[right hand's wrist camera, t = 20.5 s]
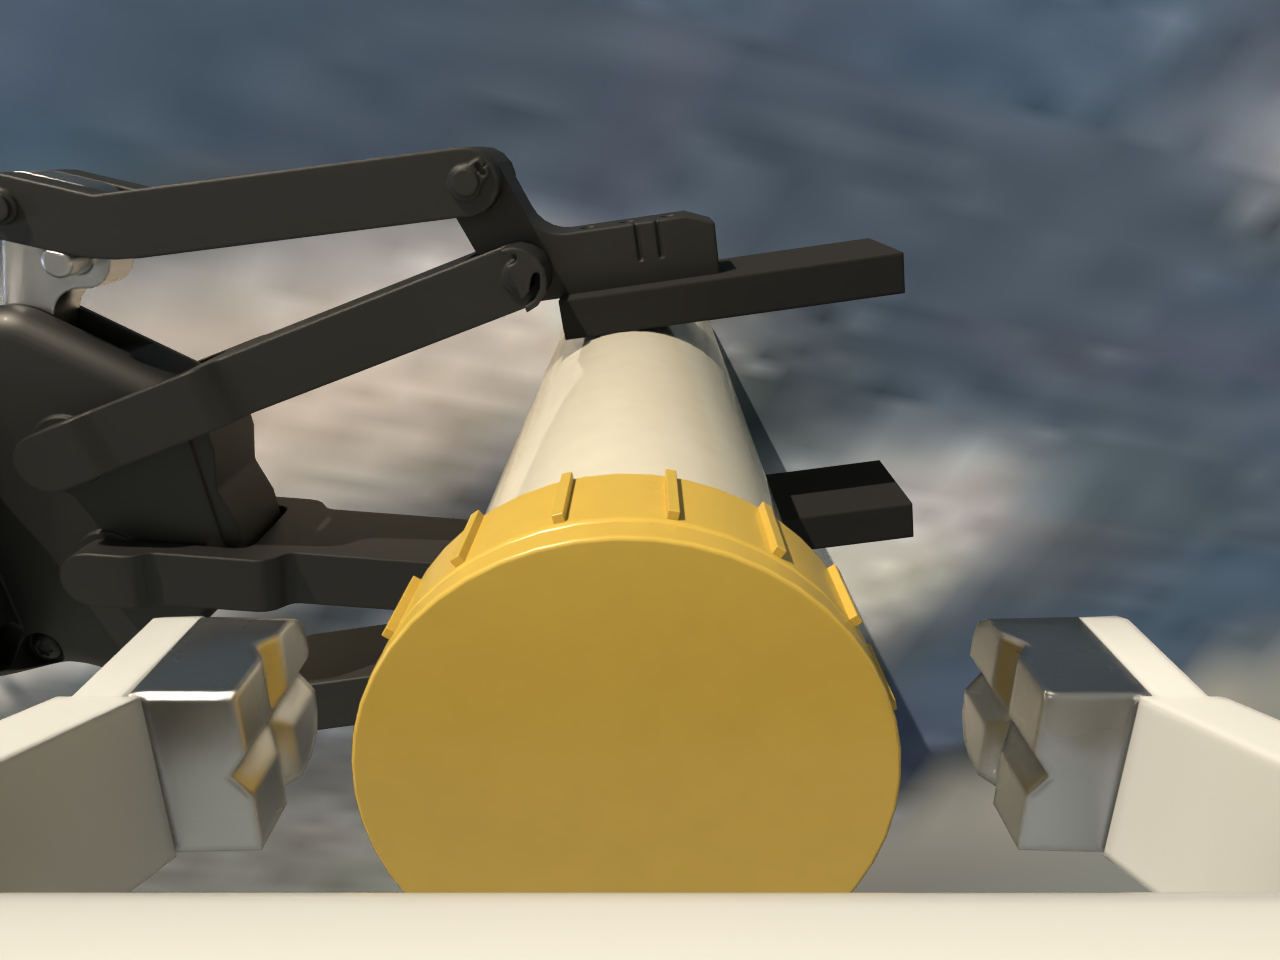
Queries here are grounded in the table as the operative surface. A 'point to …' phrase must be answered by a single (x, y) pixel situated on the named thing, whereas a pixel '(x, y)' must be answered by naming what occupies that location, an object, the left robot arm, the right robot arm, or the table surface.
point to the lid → (627, 704)
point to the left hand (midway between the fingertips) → (888, 385)
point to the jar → (637, 416)
